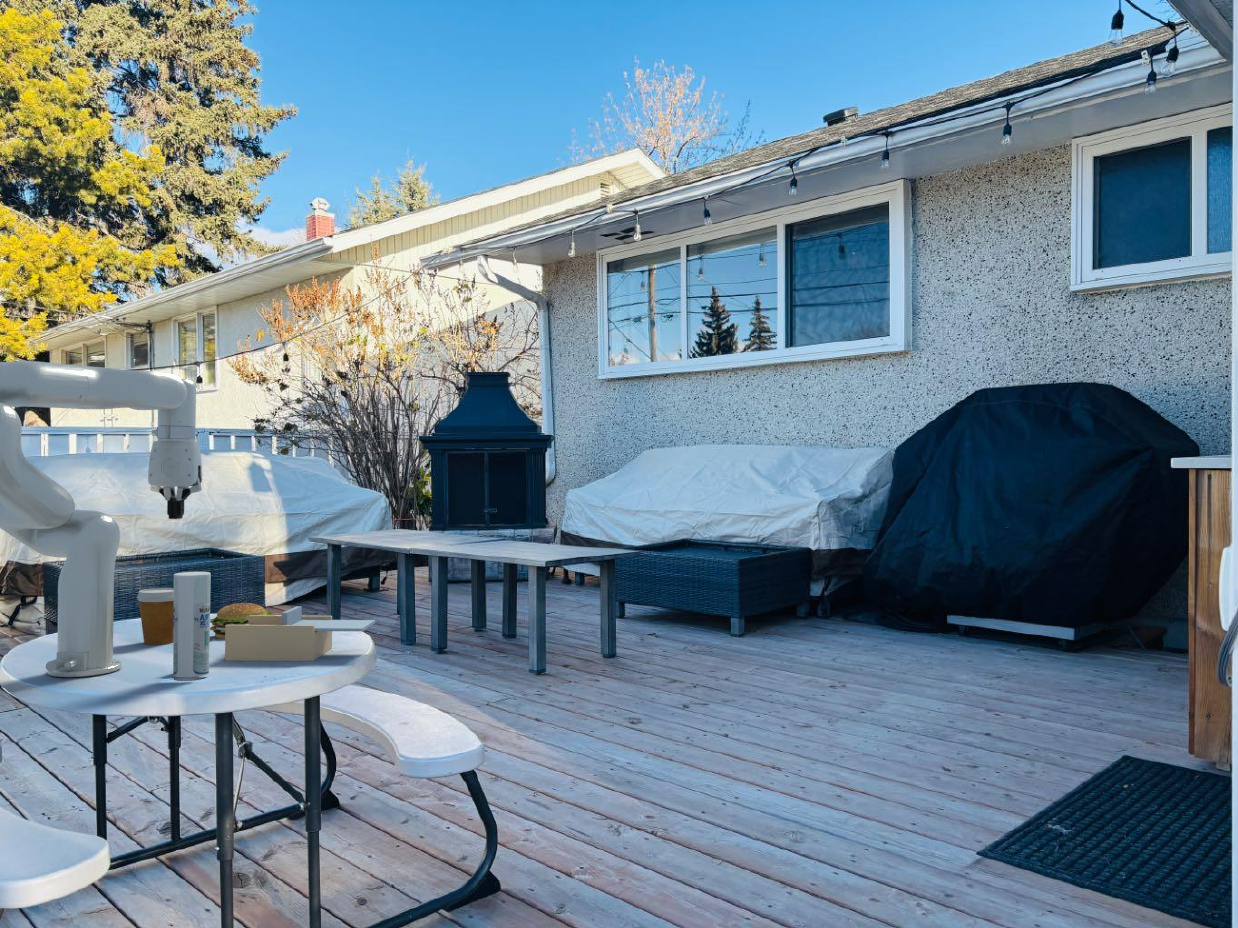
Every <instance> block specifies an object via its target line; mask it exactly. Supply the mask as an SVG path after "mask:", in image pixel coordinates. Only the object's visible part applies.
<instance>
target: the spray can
mask: <svg viewBox="0 0 1238 928" xmlns="http://www.w3.org/2000/svg"><path fill="white" fill-rule="evenodd" d="M211 576H212V575H211V572H209V571H184V572H178V573H176V572H175V573H174V574H173V588H174V612H173V642H172V644H173V650H172V651H173V653H172V655H173V656H172V657H173V658H172V659H173V662H172V664H173V665H172V667H173V668H172V670H173V671H172V672H173V673H172V675H173V681H176V682H192V681H193V682H194V681H200V680H201V681H202V680H204V679H207V678H208V676H205V675H208V674H209V673H210V636H211V635H210V633H211V632H210V631H211V630H210V627H211V623H210V621H211V620H210V619H211V583H212V582H211V579H212V578H211Z"/></svg>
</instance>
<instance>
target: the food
mask: <svg viewBox="0 0 1238 928" xmlns="http://www.w3.org/2000/svg"><path fill="white" fill-rule="evenodd" d="M249 615H275V613H272V612H271V611H268V610H266V609H265V608H264V607H263V606H261V605H260V604H255V603H250V602H240V603H239V602H238V603H232V604H228V605H225V606H224V607H222V608H220V609H219V610H218V611H217V613H216V616H215V617H214V618H210V624H211V626H210V631H213V633H214V637H215V638H216V639H218V640H225V625H245V624H248V621H249Z"/></svg>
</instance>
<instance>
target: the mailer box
mask: <svg viewBox="0 0 1238 928" xmlns="http://www.w3.org/2000/svg"><path fill="white" fill-rule="evenodd" d="M281 617H282V614H281V615H280V614H279V615H275V614H274V615H249V621H248V624H245V625H225V639H224V642H225V643H224V661H225V662H227V661H228V662H229V661H230V662H231V661H233V662H234V661H236V662H238V661H239V662H240V661H241V662H242V661H244V662H253V661H254V662H314V661H316V660H317V659H319V658H320V657H321V656H323V655H324V654H326V653H327V652H329V651H331V650H333V631H315V625H281ZM302 620H333V615H302Z"/></svg>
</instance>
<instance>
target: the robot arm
mask: <svg viewBox="0 0 1238 928" xmlns="http://www.w3.org/2000/svg"><path fill="white" fill-rule="evenodd" d="M196 405H197V385H196V383H195V382H194V381H193V380H191V379H186V378H180V377H179V376H177V375H176V374H173V373H169V372H167V373H166V372H157V371H148V370H146V371H145V370H131V369H119V368H111V367H103V366H102V367H101V366H89V365H75V364H64V363H57V362H56V363H55V362H45V361H38V360H37V361H36V360H35V361H34V360H21V361H20V360H18V361H0V529H1V530H2V531H4V532H5V533H7V534H8V535H10V536H11V537H13V538H15V540H17V541H19V542H20V543H22V544H23V545H25V546H26V547H28V548H30V549H31V550H32V551H35V552H36V553H38V554H40V555H43V556H46V557H52V558H62V559H65V561H64V564H63V566H62V568H61V571H60V572H59V573H60V574H59V577H58V582H57V652H56V656H55V657H56V658H55V659H53V660H49V661H48V662H46V663H45V669H46V671H47V674H48V675H49V676H51V677H59V678H80V677H83V678H84V677H90V676H91V677H92V676H99V675H104V674H105V675H106V674H108V673H109V674H110V673H113V672H115V671H118V670H120V669H122V661H121V660H119V659H114V608H115V607H114V601H115V599H114V595H115V593H114V592H115V591H114V589H115V588H114V587H115V585H114V583H115V582H114V580H115V578H114V577H115V566H116V560H117V559H116V558H117V555H118V549H119V545H120V540H121V530H120V526H119V525H118V522H117V521H116V520H115V519H114V517H112V516H110V514H108V513H105V512H102V511H96V510H90V509H89V510H85V509H76V505H75V500H74V498H73V497H72V494H70V492H69V491H68V490H66V488H64V487H63V486H62V485H61V484H59V483H57V482H56V481H55V480H54V479H53V478H51V477H50V476H48V475H47V474H46V473H44V472H43V471H41V470H40V469H39V468H37V466H35V465H34V464H32V463H31V462H30V461H29V460H28V459H27V458H26V457H25V455H24V452H23V449H22V432H23V430H22V429H23V428H22V427H23V426H22V420H21V419H20V416H19V414H18V413H17V411H16V410H15V409H14V408H13V407H17V408H18V407H29V408H30V407H31V408H33V407H34V408H49V409H50V408H51V409H52V408H53V409H55V408H56V409H72V410H73V409H75V410H110V409H111V410H112V409H124V408H125V409H127V408H128V409H132V410H136V411H156V410H157V426H156V429H151V436H153V437H156V439H157V440H153V442H152V445H151V449H150V453H149V454H150V455H149V461H148V471H147V473H148V474H147V481H148V484H149V485H150V488H149V490H150V491H151V492H154V493H158V494H161V496H162V497H163V498H164V500H165V501H167V502H166V503H167V505H166V514H167V515H168V520H180V519H183V517H184V515H185V501H186V500H187V499H188V497H189V496H190V495H192V494H194V493H195V494H196V493H198V492H201V491H202V490H203V489H202V485H201V484H202V481H203V463H202V454H201V448H200V445H199V441H196V435H197V434H196V429H197V428H196V427H197V426H196V425H197V424H196V422H197V418H196V417H197V413H196V412H197V406H196ZM175 487H176V488H175Z"/></svg>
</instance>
